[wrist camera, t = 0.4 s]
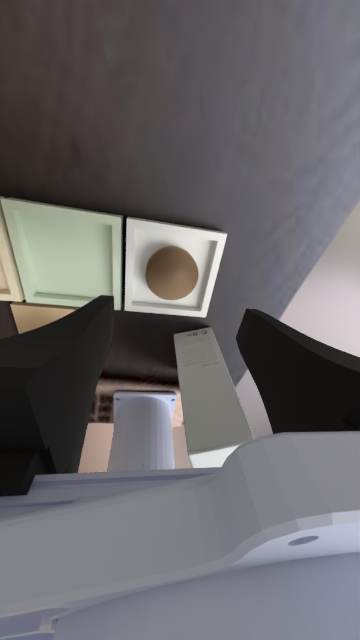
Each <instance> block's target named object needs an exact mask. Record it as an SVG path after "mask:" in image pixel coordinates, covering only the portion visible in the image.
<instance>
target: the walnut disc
mask: <svg viewBox="0 0 360 640" xmlns="http://www.w3.org/2000/svg"><path fill="white" fill-rule="evenodd" d="M198 276H199V272H198V267H197V265H196V262H195V261H194V259H193V257H192V256H191V255H190V254H189V253H188V252H187V251H186V250H184V249H182V248H179V247H175V246H168V247H164V248H161V249H159V250H157V251H156V252H155V253H154V254H153V255H152V256H151V257H150V259H149V260H148V262H147V266H146V273H145V277H146V282H147V285H148V287H149V289H150V290H151V291H152V292H153V293H154V294H155V295H156V296H158V297H159V298H162V299H165V300H178V299H181V298H184V297H186V296H187V295H189V294H190V293H191V292H192V291H193V289H194V288H195V286H196V284H197V281H198Z"/></svg>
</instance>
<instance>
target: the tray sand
mask: <svg viewBox="0 0 360 640" xmlns="http://www.w3.org/2000/svg"><path fill="white" fill-rule="evenodd" d="M0 198H5V197H3V196H0ZM24 299H25V295H24V291H23V287H22V283H21V279H20V275H19V271H18V267H17V263H16V259H15V255H14V251H13V247H12V243H11V239H10V236H9V232H8V228H7V224H6V220H5V216H4V212H3V208H2V204H1V200H0V300H5V301H17V302H22V301H23V300H24Z"/></svg>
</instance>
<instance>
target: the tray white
mask: <svg viewBox="0 0 360 640" xmlns="http://www.w3.org/2000/svg"><path fill="white" fill-rule="evenodd" d="M226 237H227V234H226V233H225V232H223V231H216V230H210V229H204V228H198V227H191V226H185V225H179V224H173V223H166V222H160V221H154V220H147V219H141V218H135V217H129V216H128V218H127V228H126V273H125V311H135V312H147V313H159V314H170V315H182V316H194V317H206V314H207V310H208V307H209V303H210V299H211V295H212V291H213V287H214V284H215V280H216V276H217V272H218V268H219V264H220V260H221V257H222V253H223V249H224V245H225V241H226ZM168 246H175V247H179V248H182V249H184V250H186V251H187V252H188V253H189V254H190V255H191V256H192V257H193V259H194V261H195V262H196V265H197V267H198V272H199V276H198V281H197V284H196V286H195V288H194V289H193V291H192V292H191V293H190V294H189V295H187V296H186V297H184V298H181V299H178V300H165V299H162V298H159V297H158V296H156V295H155V294H154V293H153V292H152V291H151V290H150V289H149V287H148V285H147V282H146V277H145V273H146V266H147V262H148V260H149V259H150V257H151V256H152V255H153V254H154V253H155V252H156V251H157V250H159V249H161V248H164V247H168Z"/></svg>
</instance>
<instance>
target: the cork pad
mask: <svg viewBox="0 0 360 640" xmlns="http://www.w3.org/2000/svg"><path fill="white" fill-rule="evenodd" d="M10 306H11V309H12V312H13V316H14V319H15V322H16V326H17V329H18V332H19V334H21V333H24V332H27V331H30V330H33V329H36V328H39V327H41V326H44V325H46V324H49V323H51V322H53V321H56V320H58V319H60V318H62V317H64V316H66V315H68V314H70V313H71V312H73V311H75V310H77V309H79V308H80V307H76V306H64V305H52V304H40V303H28V302H16V301H14V302H13V303H11V304H10Z"/></svg>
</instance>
